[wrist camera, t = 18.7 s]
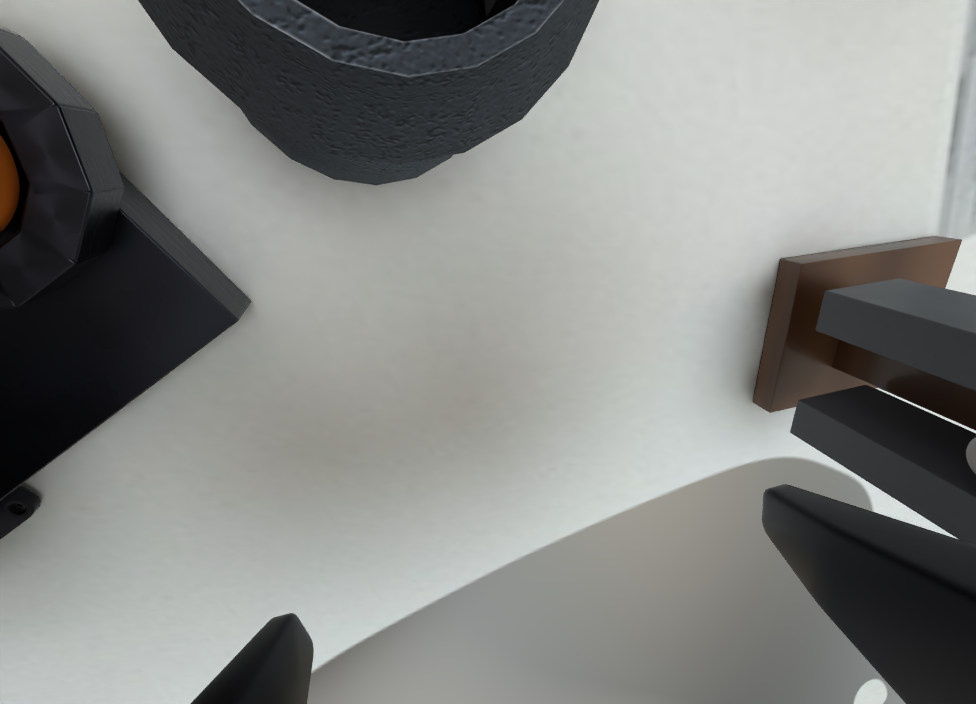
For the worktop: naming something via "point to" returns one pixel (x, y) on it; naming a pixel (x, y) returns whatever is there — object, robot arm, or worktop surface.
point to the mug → (376, 72)
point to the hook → (840, 365)
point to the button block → (84, 275)
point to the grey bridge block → (892, 422)
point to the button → (7, 185)
